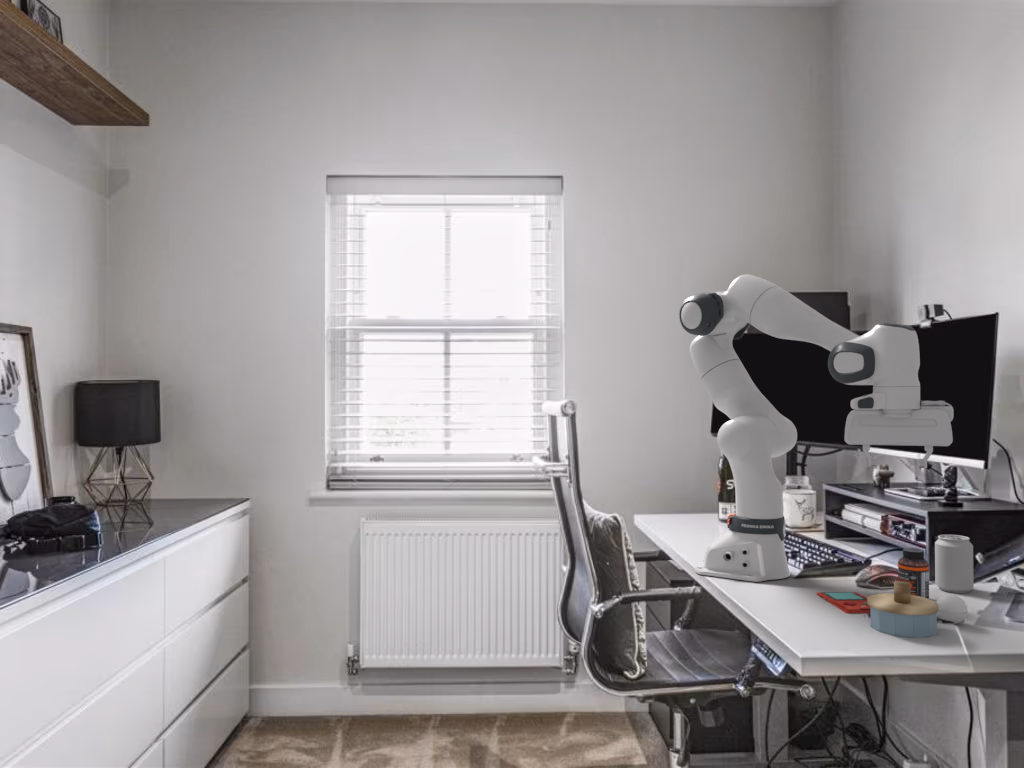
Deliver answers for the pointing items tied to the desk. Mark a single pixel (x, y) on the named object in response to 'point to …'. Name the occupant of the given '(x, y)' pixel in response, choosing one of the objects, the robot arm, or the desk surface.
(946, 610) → the white rounded lump
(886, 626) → the bowl
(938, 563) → the can
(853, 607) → the handheld gaming console
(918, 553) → the supplement bottle
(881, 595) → the lid
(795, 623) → the desk surface
